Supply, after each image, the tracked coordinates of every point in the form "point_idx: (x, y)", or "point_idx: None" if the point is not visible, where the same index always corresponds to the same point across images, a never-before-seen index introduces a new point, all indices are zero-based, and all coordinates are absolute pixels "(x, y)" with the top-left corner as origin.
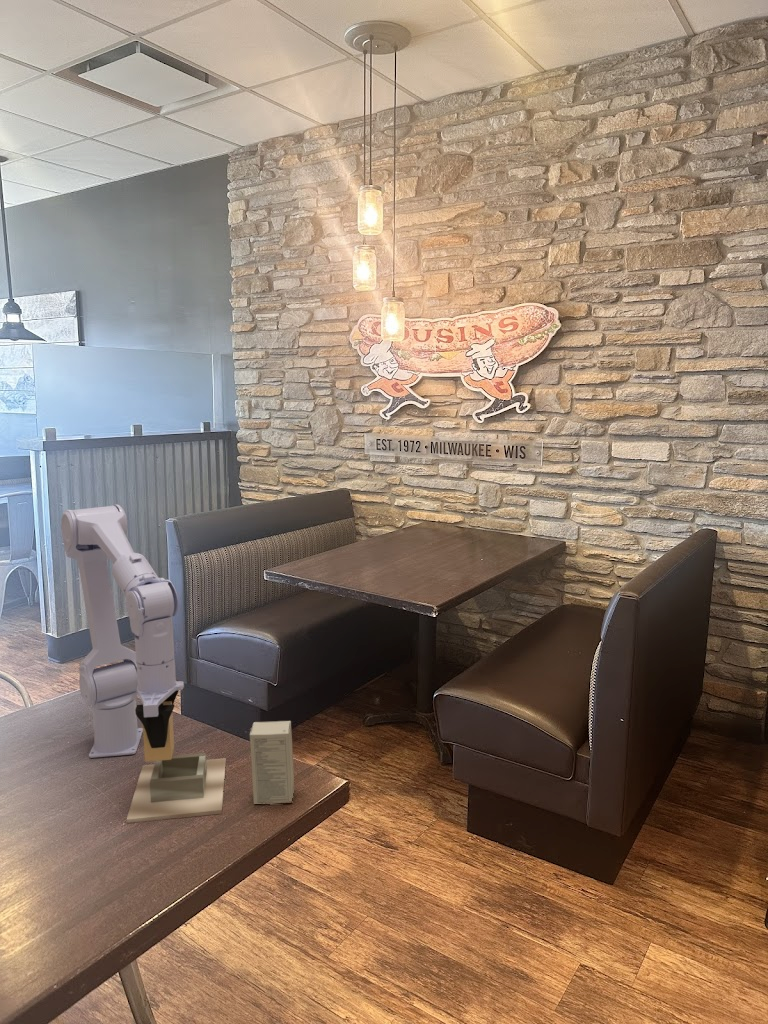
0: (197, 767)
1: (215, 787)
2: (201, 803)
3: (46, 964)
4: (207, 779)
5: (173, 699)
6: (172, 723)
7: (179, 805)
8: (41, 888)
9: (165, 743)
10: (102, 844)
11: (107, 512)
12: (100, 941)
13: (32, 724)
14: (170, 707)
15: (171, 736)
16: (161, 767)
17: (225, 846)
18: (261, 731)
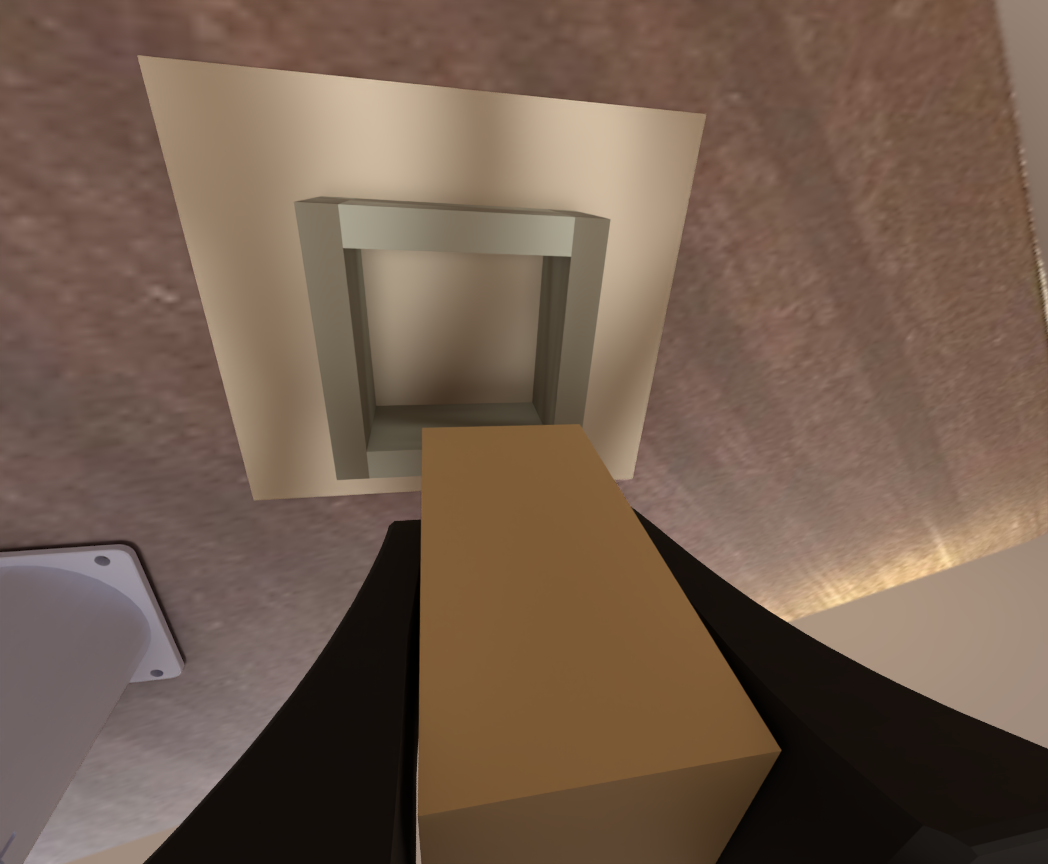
0: (353, 253)
1: (498, 143)
2: (621, 219)
3: (1016, 507)
4: (410, 191)
5: (395, 828)
6: (460, 553)
7: (606, 316)
8: (804, 577)
9: (643, 517)
10: (704, 508)
11: None
12: (1033, 434)
13: None
14: (1042, 854)
15: (552, 499)
16: (405, 438)
17: (913, 107)
18: None
